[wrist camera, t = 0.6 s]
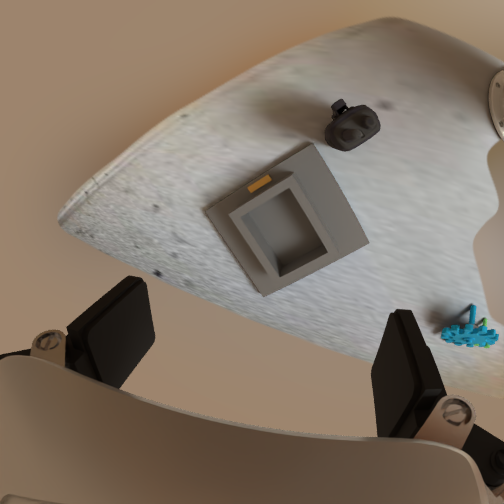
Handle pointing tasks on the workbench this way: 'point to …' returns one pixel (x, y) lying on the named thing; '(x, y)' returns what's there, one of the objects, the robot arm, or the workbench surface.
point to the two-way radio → (351, 126)
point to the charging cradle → (288, 222)
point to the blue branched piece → (470, 333)
